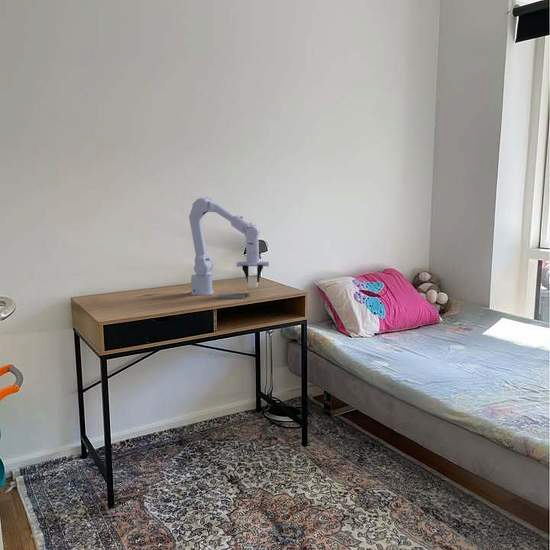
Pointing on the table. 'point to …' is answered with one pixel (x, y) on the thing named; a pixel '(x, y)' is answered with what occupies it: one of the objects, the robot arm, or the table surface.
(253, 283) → the white rectangular block
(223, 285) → the table surface
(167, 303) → the table surface
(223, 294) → the mat
